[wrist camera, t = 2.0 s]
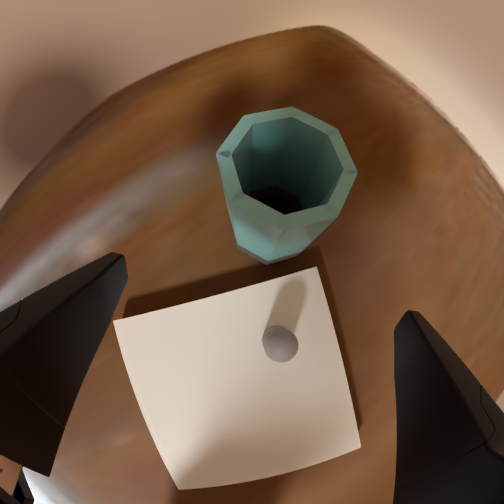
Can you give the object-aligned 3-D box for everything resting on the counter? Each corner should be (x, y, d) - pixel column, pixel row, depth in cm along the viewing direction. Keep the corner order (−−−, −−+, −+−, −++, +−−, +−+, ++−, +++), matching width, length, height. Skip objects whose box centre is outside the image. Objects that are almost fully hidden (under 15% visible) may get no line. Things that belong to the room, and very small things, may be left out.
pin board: (354, 439, 18) (378, 467, 13) (182, 480, 17) (169, 513, 12) (311, 269, 20) (331, 258, 15) (121, 319, 20) (88, 323, 15)
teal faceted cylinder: (316, 250, 21) (371, 207, 11) (244, 271, 20) (240, 242, 10) (294, 183, 22) (323, 102, 12) (224, 200, 21) (207, 123, 11)
